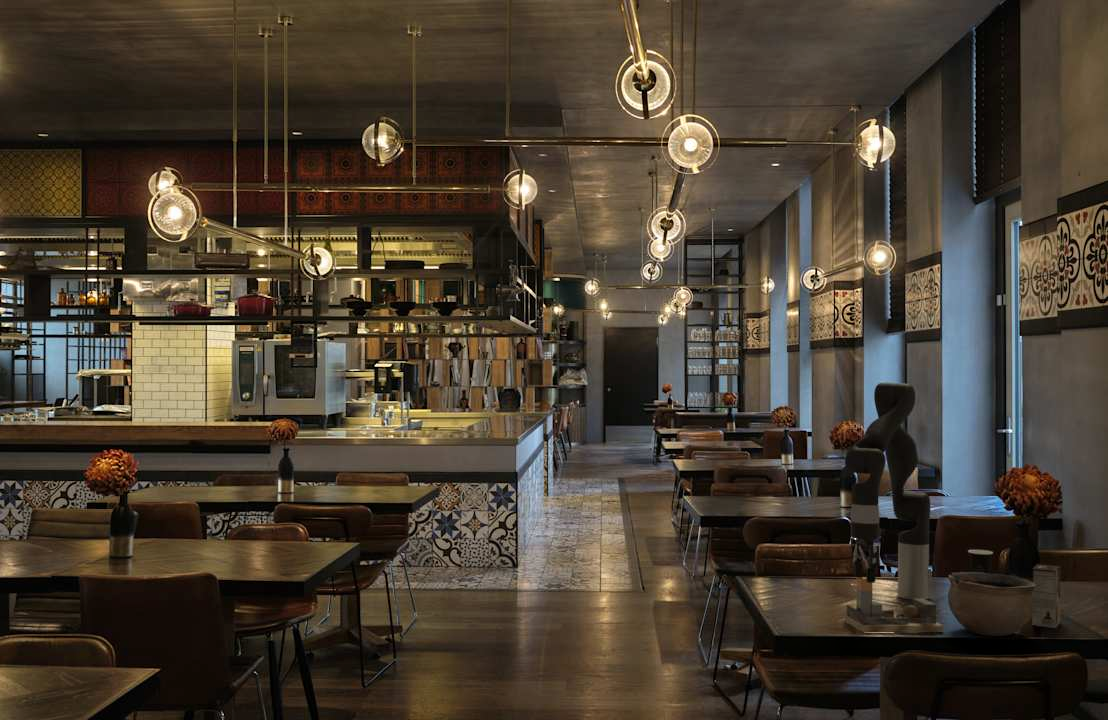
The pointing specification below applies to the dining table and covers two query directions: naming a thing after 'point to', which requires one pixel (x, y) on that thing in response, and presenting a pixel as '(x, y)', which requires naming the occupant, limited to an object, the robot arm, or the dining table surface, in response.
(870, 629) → the base
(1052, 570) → the coffee box
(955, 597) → the ceramic bowl
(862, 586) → the lever
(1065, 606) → the dining table surface
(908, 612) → the walnut
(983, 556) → the dixie cup
